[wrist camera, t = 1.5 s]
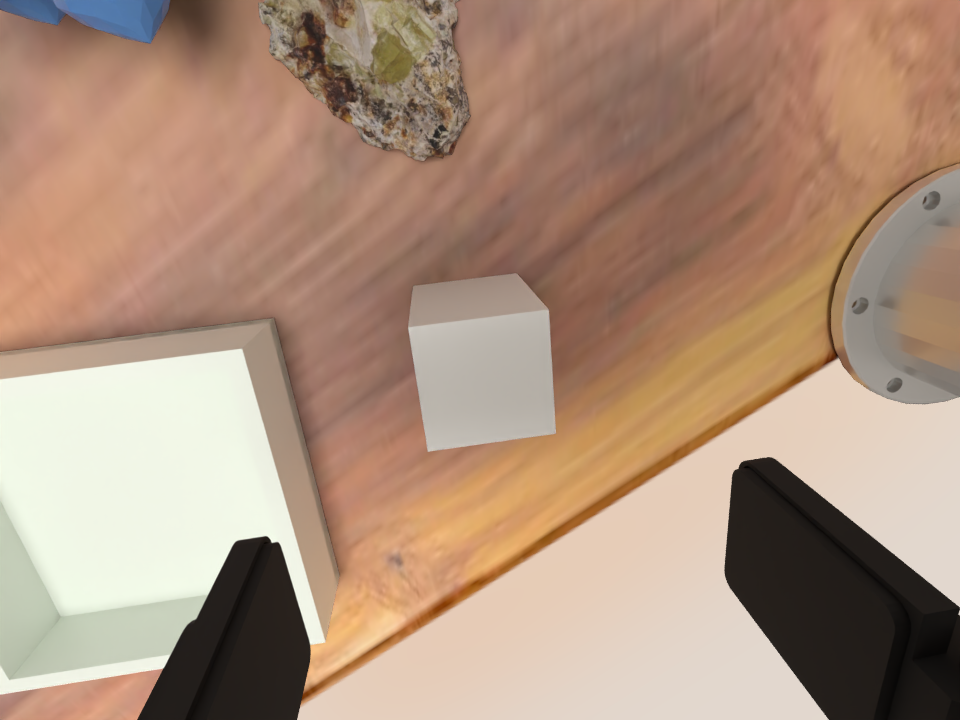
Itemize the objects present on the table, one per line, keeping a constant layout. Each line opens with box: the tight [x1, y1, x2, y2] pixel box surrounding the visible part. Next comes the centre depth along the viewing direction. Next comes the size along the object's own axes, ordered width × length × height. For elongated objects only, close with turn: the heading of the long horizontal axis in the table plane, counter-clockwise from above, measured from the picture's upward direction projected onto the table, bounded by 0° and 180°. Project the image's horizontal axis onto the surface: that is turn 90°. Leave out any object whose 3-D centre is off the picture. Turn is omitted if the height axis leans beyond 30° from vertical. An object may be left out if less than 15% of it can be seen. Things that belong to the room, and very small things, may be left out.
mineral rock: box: [258, 0, 471, 161], centre depth 20 cm, size 11×4×8 cm
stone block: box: [408, 273, 556, 452], centre depth 22 cm, size 5×5×7 cm
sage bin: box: [0, 318, 340, 694], centre depth 24 cm, size 16×16×4 cm
